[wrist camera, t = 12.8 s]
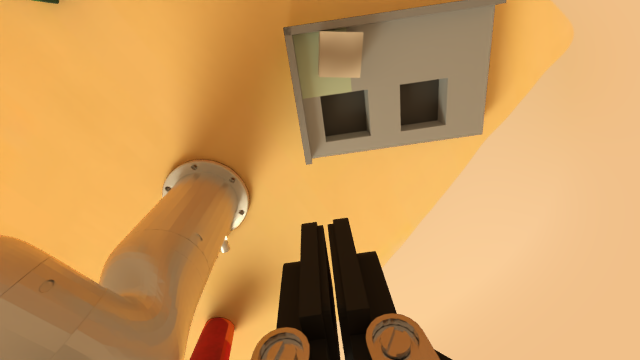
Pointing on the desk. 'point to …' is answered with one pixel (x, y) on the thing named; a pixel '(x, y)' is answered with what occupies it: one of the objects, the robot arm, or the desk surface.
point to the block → (340, 54)
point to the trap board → (395, 79)
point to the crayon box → (49, 1)
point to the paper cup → (214, 340)
